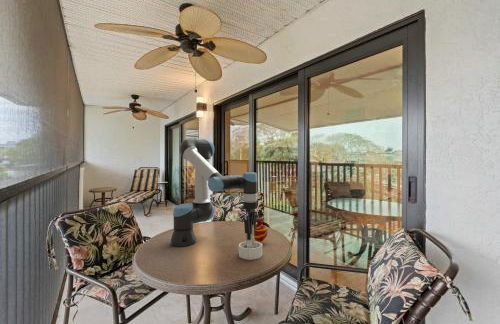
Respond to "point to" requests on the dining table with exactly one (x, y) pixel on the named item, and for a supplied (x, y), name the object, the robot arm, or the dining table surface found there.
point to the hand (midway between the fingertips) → (250, 244)
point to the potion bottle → (260, 231)
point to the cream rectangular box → (252, 235)
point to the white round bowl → (250, 250)
